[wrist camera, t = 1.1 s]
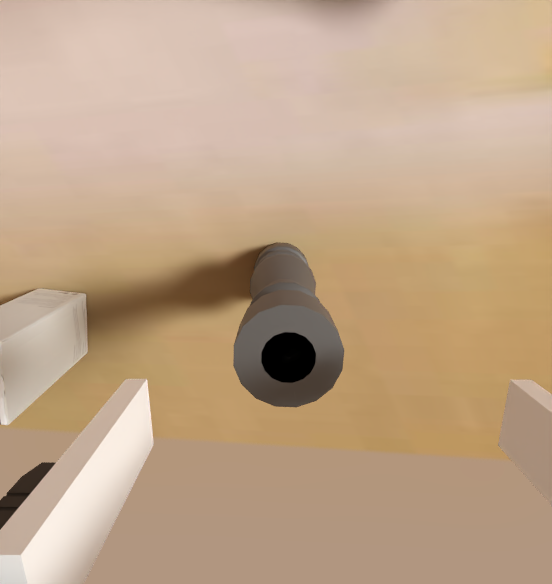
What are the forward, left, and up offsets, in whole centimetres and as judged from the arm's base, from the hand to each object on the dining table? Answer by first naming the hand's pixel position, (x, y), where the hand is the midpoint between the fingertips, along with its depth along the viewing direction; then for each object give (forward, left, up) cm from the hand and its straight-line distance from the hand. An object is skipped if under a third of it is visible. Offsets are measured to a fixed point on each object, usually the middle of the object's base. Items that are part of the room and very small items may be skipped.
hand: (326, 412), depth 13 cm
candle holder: (0, -1, -31) cm, 30 cm away
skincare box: (+8, -27, -31) cm, 42 cm away
